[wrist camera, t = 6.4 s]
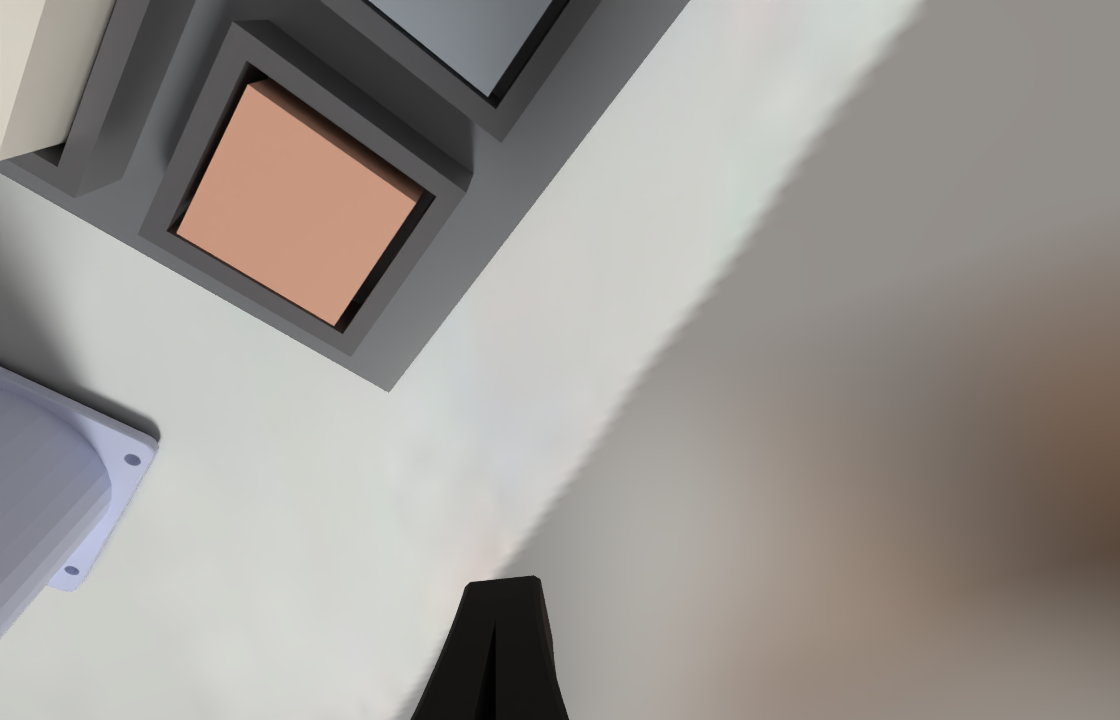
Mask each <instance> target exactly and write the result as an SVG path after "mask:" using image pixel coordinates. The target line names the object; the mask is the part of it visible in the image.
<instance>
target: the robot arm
mask: <svg viewBox="0 0 1120 720" xmlns="http://www.w3.org/2000/svg"><path fill="white" fill-rule="evenodd" d="M158 449H159V446H158V443H157V442H156V441H155V439H154V438H152V437H151V436H149V435H147V434H145V433H143V432H141V431H138V430H136V429H134V428H132V427H130V426H128V425H125V424H123V423H121V422H119V421H117V420H115V419H113V418H110V417H108V416H106V415H104V414H102V413H100V412H97V411H95V410H93V409H91V408H89V407H87V406H85V405H82V404H80V403H78V402H76V401H74V400H72V399H69V398H67V397H65V396H63V395H61V394H59V393H56V392H54V391H52V390H50V389H48V388H46V387H44V386H41V385H39V384H37V383H35V382H33V381H31V380H28V379H26V378H24V377H22V376H20V375H18V374H15V373H13V372H11V371H9V370H7V369H5V368H3V367H0V639H1V638H2V636H3V635H4V634H5V633H6V632H7V631H8V629H9V628H10V627H11V626H12V625H13V624H14V622H15V621H16V620H17V619H18V618H19V616H20V615H21V614H22V613H23V612H24V611H25V609H26V608H27V607H28V606H29V605H30V604H31V602H32V601H33V600H34V599H35V598H36V597H37V595H38V594H39V593H40V592H41V591H42V589H43V588H44V587H45V586H46V585H48V586H50V587H53V588H56V589H59V590H62V591H66V592H71V591H75V590H77V589H78V588H79V587H80V586H81V584H82V583H83V582H84V580H85V578H86V577H87V575H88V573H89V571H90V570H91V568H92V566H93V564H94V563H95V561H96V559H97V557H98V556H99V554H100V552H101V550H102V549H103V547H104V545H105V543H106V542H107V540H108V538H109V536H110V535H111V533H112V531H113V529H114V528H115V526H116V524H117V522H118V521H119V519H120V517H121V515H122V514H123V512H124V510H125V508H126V506H127V505H128V503H129V501H130V499H131V498H132V496H133V494H134V492H135V491H136V489H137V487H138V485H139V484H140V482H141V480H142V478H143V477H144V475H145V473H146V471H147V470H148V468H149V466H150V464H151V463H152V461H153V459H154V457H155V456H156V454H157V452H158ZM134 455H136V456H137V457H136V456H134ZM138 457H139V458H138ZM411 720H569V718H568V715H567V712H566V708H565V705H564V702H563V699H562V696H561V692H560V688H559V685H558V681H557V678H556V671H555V663H554V652H553V641H552V634H551V629H550V624H549V619H548V614H547V609H546V604H545V599H544V594H543V589H542V585H541V580H540V579H539V578H537V577H536V576H534V575H533V576H524V577H515V578H505V579H496V580H486V581H477V582H470V583H469V584H468V585H467V586H466V587H465V589H464V592H463V595H462V598H461V601H460V604H459V607H458V610H457V613H456V616H455V618H454V621H453V624H452V626H451V629H450V631H449V634H448V637H447V639H446V641H445V644H444V646H443V649H442V651H441V654H440V656H439V659H438V661H437V663H436V665H435V668H434V670H433V672H432V674H431V677H430V679H429V681H428V683H427V686H426V688H425V690H424V692H423V695H422V697H421V699H420V701H419V703H418V706H417V708H416V710H415V712H414V714H413V716H412V718H411Z"/></svg>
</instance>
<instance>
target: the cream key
mask: <svg viewBox="0 0 1120 720" xmlns="http://www.w3.org/2000/svg"><path fill="white" fill-rule="evenodd" d="M115 2H116V0H0V161H1V160H5V159H8V158H12V157H15V156H19V155H22V154H26V153H29V152H33V151H36V150H40V149H43V148H47V147H50V146H54V145H57V144H61V143H64V142H66V139H67V137H68V134H69V131H70V128H71V125H72V123H73V120H74V117H75V114H76V111H77V109H78V106H79V103H80V100H81V97H82V94H83V92H84V89H85V86H86V83H87V80H88V78H89V75H90V72H91V69H92V66H93V64H94V61H95V58H96V55H97V52H98V49H99V47H100V44H101V41H102V38H103V35H104V33H105V30H106V27H107V24H108V21H109V19H110V16H111V13H112V10H113V7H114V4H115Z"/></svg>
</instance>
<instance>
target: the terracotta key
mask: <svg viewBox="0 0 1120 720" xmlns="http://www.w3.org/2000/svg"><path fill="white" fill-rule="evenodd" d="M424 190H425V188H424V187H422V186H421V185H420V184H418V183H417V182H415V181H414V180H413V179H411V178H410V177H408V176H407V175H406V174H404V173H403V172H402V171H400V170H399V169H397V168H396V167H395V166H393V165H392V164H390V163H389V162H388V161H386V160H385V159H383V158H382V157H381V156H379V155H378V154H376V153H375V152H374V151H372V150H371V149H369V148H368V147H367V146H365V145H364V144H362V143H361V142H360V141H358V140H357V139H355V138H354V137H353V136H351V135H350V134H349V133H347V132H346V131H344V130H343V129H342V128H340V127H339V126H337V125H336V124H335V123H333V122H332V121H330V120H329V119H328V118H326V117H325V116H323V115H322V114H321V113H319V112H318V111H316V110H315V109H314V108H312V107H311V106H309V105H308V104H307V103H305V102H304V101H302V100H301V99H300V98H298V97H297V96H296V95H294V94H293V93H291V92H290V91H289V90H287V89H286V88H284V87H283V86H282V85H280V84H279V83H277V82H276V81H275V80H273V79H272V78H270V79H266V80H263V81H259V82H255V83H251V84H248V85H247V87H246V89H245V91H244V93H243V95H242V98H241V100H240V102H239V104H238V106H237V108H236V110H235V112H234V114H233V116H232V118H231V120H230V123H229V125H228V127H227V129H226V131H225V133H224V135H223V137H222V139H221V141H220V143H219V146H218V148H217V150H216V152H215V154H214V156H213V158H212V160H211V162H210V164H209V166H208V168H207V171H206V173H205V175H204V177H203V179H202V181H201V183H200V185H199V187H198V189H197V191H196V194H195V196H194V198H193V200H192V202H191V204H190V206H189V208H188V210H187V212H186V214H185V217H184V219H183V221H182V223H181V225H180V227H179V229H178V231H177V234H179V235H180V236H182V237H184V238H185V239H187V240H189V241H190V242H192V243H194V244H196V245H197V246H199V247H201V248H202V249H204V250H206V251H207V252H209V253H211V254H213V255H214V256H216V257H218V258H219V259H221V260H223V261H224V262H226V263H228V264H230V265H231V266H233V267H235V268H236V269H238V270H240V271H241V272H243V273H245V274H247V275H248V276H250V277H252V278H253V279H255V280H257V281H258V282H260V283H262V284H264V285H265V286H267V287H269V288H270V289H272V290H274V291H276V292H277V293H279V294H281V295H282V296H284V297H286V298H287V299H289V300H291V301H293V302H294V303H296V304H298V305H299V306H301V307H303V308H304V309H306V310H308V311H310V312H311V313H313V314H315V315H316V316H318V317H320V318H321V319H323V320H325V321H327V322H328V323H330V324H332V325H333V326H334V325H335V324H336V322H337V321H338V319H339V318H340V316H341V315H342V313H343V312H344V310H345V309H346V307H347V306H348V304H349V303H350V301H351V300H352V298H353V297H354V295H355V294H356V292H357V291H358V289H359V288H360V286H361V285H362V283H363V282H364V280H365V279H366V277H367V276H368V274H369V273H370V271H371V270H372V268H373V267H374V265H375V264H376V262H377V261H378V259H379V258H380V256H381V255H382V253H383V252H384V250H385V249H386V247H387V246H388V244H389V243H390V241H391V240H392V238H393V237H394V235H395V234H396V232H397V231H398V230H399V228H400V227H401V225H402V224H403V222H404V221H405V219H406V218H407V216H408V215H409V213H410V212H411V210H412V209H413V207H414V206H415V204H416V203H417V201H418V199H419V198H420V196H421V194H422V193H423V191H424Z"/></svg>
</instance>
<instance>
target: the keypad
mask: <svg viewBox="0 0 1120 720" xmlns="http://www.w3.org/2000/svg"><path fill="white" fill-rule="evenodd" d="M689 1H690V0H552V2H551V3H550V5H549V6H548V8H547V9H546V11H545V12H544V14H543V15H542V17H541V18H540V20H539V21H538V23H537V24H536V26H535V27H534V29H533V30H532V32H531V33H530V35H529V36H528V38H527V39H526V40H525V42H524V43H523V45H522V46H521V48H520V49H519V51H518V52H517V54H516V55H515V57H514V58H513V60H512V61H511V63H510V64H509V66H508V67H507V69H506V70H505V72H504V73H503V75H502V76H501V78H500V79H499V81H498V82H497V84H496V85H495V87H494V88H493V90H492V91H491V93H490V94H489V96H488V97H487V96H486V95H485V94H483V93H482V92H481V91H480V90H479V89H477V88H476V87H475V86H474V85H472V84H471V83H470V82H469V81H467V80H466V79H465V78H464V77H463V76H461V75H460V74H459V73H458V72H456V71H455V70H454V69H453V68H451V67H450V66H449V65H448V64H447V63H445V62H444V61H443V60H442V59H440V58H439V57H438V56H437V55H436V54H434V53H433V52H432V51H431V50H429V49H428V48H427V47H426V46H424V45H423V44H422V43H421V42H420V41H418V40H417V39H416V38H415V37H413V36H412V35H411V34H410V33H408V32H407V31H406V30H405V29H404V28H402V27H401V26H400V25H399V24H397V23H396V22H395V21H394V20H392V19H391V18H390V17H389V16H388V15H386V14H385V13H384V12H383V11H381V10H380V9H379V8H378V7H376V6H375V5H374V4H373V3H372V2H370V1H369V0H116V2H115V4H114V7H113V10H112V13H111V16H110V19H109V21H108V24H107V27H106V30H105V33H104V35H103V38H102V41H101V44H100V47H99V49H98V52H97V55H96V58H95V61H94V64H93V66H92V69H91V72H90V75H89V78H88V80H87V83H86V86H85V89H84V92H83V94H82V97H81V100H80V103H79V106H78V109H77V111H76V114H75V117H74V120H73V123H72V125H71V128H70V131H69V134H68V137H67V139H66V142H64V143H61V144H57V145H54V146H50V147H47V148H43V149H40V150H36V151H33V152H29V153H26V154H22V155H19V156H15V157H12V158H8V159H5V160H1V161H0V173H1V174H3V175H5V176H7V177H8V178H10V179H12V180H14V181H15V182H17V183H19V184H21V185H22V186H24V187H26V188H28V189H30V190H31V191H33V192H35V193H37V194H38V195H40V196H42V197H44V198H45V199H47V200H49V201H51V202H53V203H54V204H56V205H58V206H60V207H61V208H63V209H65V210H67V211H68V212H70V213H72V214H74V215H76V216H77V217H79V218H81V219H83V220H84V221H86V222H88V223H90V224H91V225H93V226H95V227H97V228H99V229H100V230H102V231H104V232H106V233H107V234H109V235H111V236H113V237H114V238H116V239H118V240H120V241H122V242H123V243H125V244H127V245H129V246H130V247H132V248H134V249H136V250H137V251H139V252H141V253H143V254H145V255H146V256H148V257H150V258H152V259H153V260H155V261H157V262H159V263H160V264H162V265H164V266H166V267H168V268H169V269H171V270H173V271H175V272H176V273H178V274H180V275H182V276H183V277H185V278H187V279H189V280H191V281H192V282H194V283H196V284H198V285H199V286H201V287H203V288H205V289H206V290H208V291H210V292H212V293H214V294H215V295H217V296H219V297H221V298H222V299H224V300H226V301H228V302H229V303H231V304H233V305H235V306H237V307H238V308H240V309H242V310H244V311H245V312H247V313H249V314H251V315H252V316H254V317H256V318H258V319H260V320H261V321H263V322H265V323H267V324H268V325H270V326H272V327H274V328H275V329H277V330H279V331H281V332H283V333H284V334H286V335H288V336H290V337H291V338H293V339H295V340H297V341H298V342H300V343H302V344H304V345H306V346H307V347H309V348H311V349H313V350H314V351H316V352H318V353H320V354H321V355H323V356H325V357H327V358H329V359H330V360H332V361H334V362H336V363H337V364H339V365H341V366H343V367H344V368H346V369H348V370H350V371H352V372H353V373H355V374H357V375H359V376H360V377H362V378H364V379H366V380H367V381H369V382H371V383H373V384H375V385H376V386H378V387H380V388H382V389H383V390H385V391H387V392H390V391H391V389H392V388H393V387H394V385H395V384H396V383H397V382H398V380H399V379H400V378H401V376H402V375H403V374H404V372H405V371H406V370H407V368H408V367H409V366H410V365H411V363H412V362H413V361H414V359H415V358H416V357H417V355H418V354H419V353H420V352H421V350H422V349H423V348H424V346H425V345H426V344H427V342H428V341H429V340H430V338H431V337H432V336H433V335H434V333H435V332H436V331H437V329H438V328H439V327H440V325H441V324H442V323H443V322H444V320H445V319H446V318H447V316H448V315H449V314H450V312H451V311H452V310H453V309H454V307H455V306H456V305H457V303H458V302H459V301H460V299H461V298H462V297H463V295H464V294H465V293H466V292H467V290H468V289H469V288H470V286H471V285H472V284H473V282H474V281H475V280H476V279H477V277H478V276H479V275H480V273H481V272H482V271H483V269H484V268H485V267H486V265H487V264H488V263H489V262H490V260H491V259H492V258H493V256H494V255H495V254H496V252H497V251H498V250H499V249H500V247H501V246H502V245H503V243H504V242H505V241H506V239H507V238H508V237H509V235H510V234H511V233H512V232H513V230H514V229H515V228H516V226H517V225H518V224H519V222H520V221H521V220H522V219H523V217H524V216H525V215H526V213H527V212H528V211H529V209H530V208H531V207H532V206H533V204H534V203H535V202H536V200H537V199H538V198H539V196H540V195H541V194H542V192H543V191H544V190H545V189H546V187H547V186H548V185H549V183H550V182H551V181H552V179H553V178H554V177H555V176H556V174H557V173H558V172H559V170H560V169H561V168H562V166H563V165H564V164H565V162H566V161H567V160H568V159H569V157H570V156H571V155H572V153H573V152H574V151H575V149H576V148H577V147H578V146H579V144H580V143H581V142H582V140H583V139H584V138H585V136H586V135H587V134H588V132H589V131H590V130H591V129H592V127H593V126H594V125H595V123H596V122H597V121H598V119H599V118H600V117H601V116H602V114H603V113H604V112H605V110H606V109H607V108H608V106H609V105H610V104H611V103H612V101H613V100H614V99H615V97H616V96H617V95H618V93H619V92H620V91H621V89H622V88H623V87H624V86H625V84H626V83H627V82H628V80H629V79H630V78H631V76H632V75H633V74H634V73H635V71H636V70H637V69H638V67H639V66H640V65H641V63H642V62H643V61H644V59H645V58H646V57H647V56H648V54H649V53H650V52H651V50H652V49H653V48H654V46H655V45H656V44H657V43H658V41H659V40H660V39H661V37H662V36H663V35H664V33H665V32H666V31H667V29H668V28H669V27H670V26H671V24H672V23H673V22H674V20H675V19H676V18H677V16H678V15H679V14H680V13H681V11H682V10H683V9H684V7H685V6H686V5H687V3H688V2H689ZM270 78H272V79H273V80H275V81H276V82H277V83H279V84H280V85H282V86H283V87H284V88H286V89H287V90H289V91H290V92H291V93H293V94H294V95H296V96H297V97H298V98H300V99H301V100H302V101H304V102H305V103H307V104H308V105H309V106H311V107H312V108H314V109H315V110H316V111H318V112H319V113H321V114H322V115H323V116H325V117H326V118H328V119H329V120H330V121H332V122H333V123H335V124H336V125H337V126H339V127H340V128H342V129H343V130H344V131H346V132H347V133H349V134H350V135H351V136H353V137H354V138H355V139H357V140H358V141H360V142H361V143H362V144H364V145H365V146H367V147H368V148H369V149H371V150H372V151H374V152H375V153H376V154H378V155H379V156H381V157H382V158H383V159H385V160H386V161H388V162H389V163H390V164H392V165H393V166H395V167H396V168H397V169H399V170H400V171H402V172H403V173H404V174H406V175H407V176H408V177H410V178H411V179H413V180H414V181H415V182H417V183H418V184H420V185H421V186H422V187H424V188H425V190H424V191H423V193H422V194H421V196H420V198H419V199H418V201H417V203H416V204H415V206H414V207H413V209H412V210H411V212H410V213H409V215H408V216H407V218H406V219H405V221H404V222H403V224H402V225H401V227H400V228H399V230H398V231H397V232H396V234H395V235H394V237H393V238H392V240H391V241H390V243H389V244H388V246H387V247H386V249H385V250H384V252H383V253H382V255H381V256H380V258H379V259H378V261H377V262H376V264H375V265H374V267H373V268H372V270H371V271H370V273H369V274H368V276H367V277H366V279H365V280H364V282H363V283H362V285H361V286H360V288H359V289H358V291H357V292H356V294H355V295H354V297H353V298H352V300H351V301H350V303H349V304H348V306H347V307H346V309H345V310H344V312H343V313H342V315H341V316H340V318H339V319H338V321H337V322H336V324H335V325H334V326H333V325H332V324H330V323H328V322H327V321H325V320H323V319H321V318H320V317H318V316H316V315H315V314H313V313H311V312H310V311H308V310H306V309H304V308H303V307H301V306H299V305H298V304H296V303H294V302H293V301H291V300H289V299H287V298H286V297H284V296H282V295H281V294H279V293H277V292H276V291H274V290H272V289H270V288H269V287H267V286H265V285H264V284H262V283H260V282H258V281H257V280H255V279H253V278H252V277H250V276H248V275H247V274H245V273H243V272H241V271H240V270H238V269H236V268H235V267H233V266H231V265H230V264H228V263H226V262H224V261H223V260H221V259H219V258H218V257H216V256H214V255H213V254H211V253H209V252H207V251H206V250H204V249H202V248H201V247H199V246H197V245H196V244H194V243H192V242H190V241H189V240H187V239H185V238H184V237H182V236H180V235H179V234H177V231H178V229H179V227H180V225H181V223H182V221H183V219H184V217H185V214H186V212H187V210H188V208H189V206H190V204H191V202H192V200H193V198H194V196H195V194H196V191H197V189H198V187H199V185H200V183H201V181H202V179H203V177H204V175H205V173H206V171H207V168H208V166H209V164H210V162H211V160H212V158H213V156H214V154H215V152H216V150H217V148H218V146H219V143H220V141H221V139H222V137H223V135H224V133H225V131H226V129H227V127H228V125H229V123H230V120H231V118H232V116H233V114H234V112H235V110H236V108H237V106H238V104H239V102H240V100H241V98H242V95H243V93H244V91H245V89H246V87H247V85H248V84H251V83H255V82H259V81H263V80H266V79H270Z"/></svg>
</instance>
